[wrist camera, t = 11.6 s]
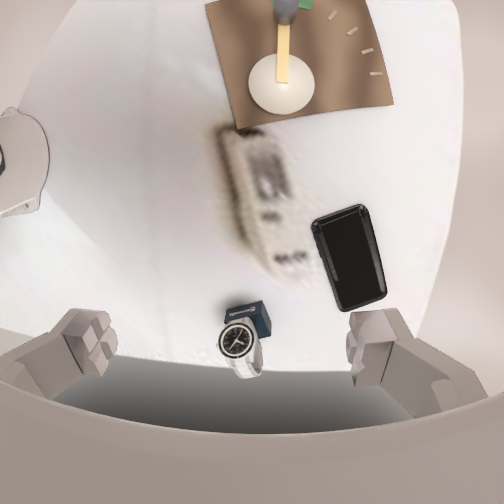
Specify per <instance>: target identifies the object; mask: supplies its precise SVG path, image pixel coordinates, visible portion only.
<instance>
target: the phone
mask: <svg viewBox="0 0 504 504" xmlns="http://www.w3.org/2000/svg"><path fill="white" fill-rule="evenodd" d="M311 228H312V232H313V234H314V239H315V240H316V243H317V244H316V245H317V248H318V250H319V251H320V252H319V254H320V257H322V260H323V263H324V266H325V269H326V271H327V274H328V277H329V280H330V283H331V286H332V289H333V293H334V296H335V299H336V302H337V305H338V308H339V310H340V311H342V312H348V311H351V310H354V309H357V308H359V307H362V306H365V305H368V304H370V303H373V302H376V301H378V300H381V299H383V298H384V297H385V296H386V295H387V286H386V281H385V276H384V272H383V267H382V263H381V258H380V254H379V250H378V246H377V241H376V237H375V234H374V230H373V226H372V222H371V218H370V215H369V211H368V209H367V208H366V207H365V206H364V205H362V204H357V205H354V206H351V207H348V208H346V209H343V210H340V211H337V212H335V213H332V214H329V215H326V216H324V217H321V218H318V219H316V220H315V221H314V222H313V223H312V227H311Z"/></svg>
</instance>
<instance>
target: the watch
mask: <svg viewBox="0 0 504 504" xmlns="http://www.w3.org/2000/svg"><path fill="white" fill-rule="evenodd" d="M224 323H225V327H224V329H223V330H222V331H221V333H220V336H219V338H218V343H217V344H216V347H217V349H219V350H220V352H221V353H222V355H223V356H224V357H225V359H226V361H227V363H228V364H229V366H230V367H233V369H234V371H235V373H236V374H237V375H238V376H239V377H240V378H242V379H245V378H251V377H256V376H260V374H261V372H262V366H263V358H262V347H261V344H260V342H259V340H258V339H261V338H265V337H269V336H271V321H270V318H269V316H268V314H267V311H266V309H265V306H264V304H263V302H262V301H258V302H254V303H251V304H247V305H243V306H239V307H235V308H232V309H228V310H227V311H226V316H225V320H224Z"/></svg>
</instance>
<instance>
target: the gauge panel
mask: <svg viewBox="0 0 504 504" xmlns="http://www.w3.org/2000/svg"><path fill="white" fill-rule="evenodd" d="M205 7H206V11H207V14H208V18H209V22H210V26H211V29H212V33H213V37H214V41H215V44H216V48H217V52H218V56H219V59H220V63H221V67H222V71H223V75H224V79H225V83H226V86H227V90H228V94H229V98H230V102H231V106H232V110H233V114H234V118H235V122H236V126H237V129H241V128H245V127H250V126H254V125H259V124H263V123H268V122H273V121H278V120H283V119H288V118H294V117H299V116H305V115H311V114H318V113H324V112H331V111H338V110H346V109H354V108H363V107H373V106H384V105H394V102H393V97H392V93H391V88H390V83H389V79H388V75H387V71H386V67H385V63H384V59H383V55H382V51H381V48H380V44H379V41H378V38H377V34H376V31H375V28H374V25H373V22H372V19H371V16H370V13H369V10H368V7H367V4H366V1H365V0H300V2H299V7H298V11H297V15H296V19H295V21H294V23H292V24H291V25H290V36H289V55H292V56H295V57H297V58H299V59H300V60H302V61H303V62H304V63H305V64H306V65H307V66H308V67H309V68H310V70H311V72H312V74H313V77H314V82H315V87H314V93H313V95H312V98H311V99H310V101H309V102H308V103H307V104H306V105H305V106H304V107H303V108H302V109H300V110H298V111H296V112H294V113H290V114H285V115H279V114H274V113H270V112H268V111H266V110H264V109H263V108H261V107H260V106H259V105H258V104H257V103H256V102H255V100H254V99H253V97H252V95H251V93H250V90H249V76H250V73H251V70H252V69H253V67H254V66H255V64H256V63H257V62H258V61H260V60H261V59H262V58H264V57H266V56H269V55H272V54H277V48H278V24H277V23H276V22H275V21H274V19H273V0H219V1H215V2H211V3H208V4H205Z"/></svg>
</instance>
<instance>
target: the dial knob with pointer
mask: <svg viewBox="0 0 504 504" xmlns="http://www.w3.org/2000/svg"><path fill="white" fill-rule="evenodd" d="M299 2H300V0H273V19H274V21H275V22H276V23H277V24H278V48H277V54H272V55H269V56H266V57H264V58H262V59H261V60H260V61H258V62H257V63H256V64H255V66H254V67H253V69H252V70H251V73H250V76H249V90H250V93H251V95H252V97H253V99H254V100H255V102H256V103H257V104H258V105H259V106H260V107H261V108H263V109H264V110H266V111H268V112H270V113H274V114H279V115H285V114H290V113H294V112H296V111H298V110H300V109H302V108H303V107H304V106H305V105H306V104H307V103H308V102H309V101H310V99H311V98H312V95H313V93H314V87H315V82H314V77H313V74H312V72H311V70H310V68H309V67H308V66H307V65H306V64H305V63H304V62H303V61H302V60H300V59H299V58H297V57H295V56H292V55H289V36H290V25H291V24H292V23H294V21H295V19H296V15H297V11H298V7H299Z"/></svg>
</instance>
